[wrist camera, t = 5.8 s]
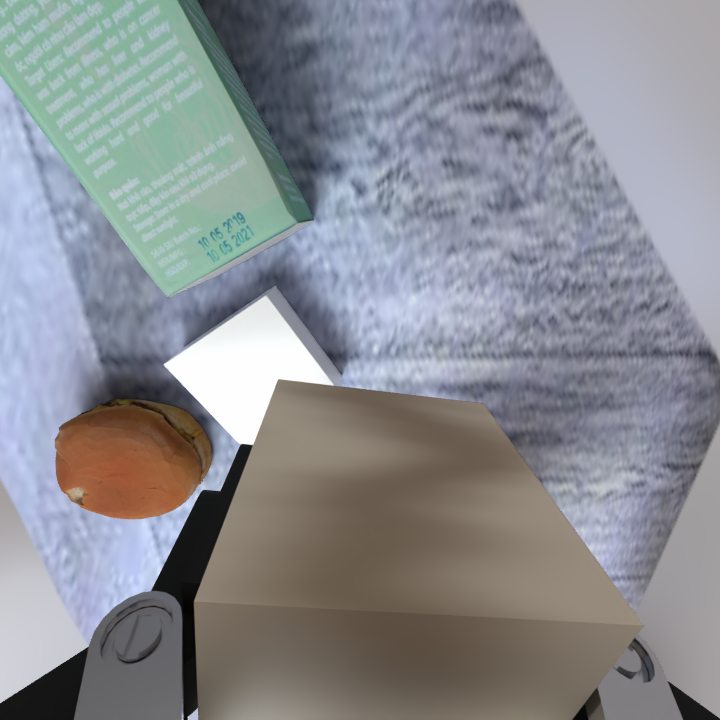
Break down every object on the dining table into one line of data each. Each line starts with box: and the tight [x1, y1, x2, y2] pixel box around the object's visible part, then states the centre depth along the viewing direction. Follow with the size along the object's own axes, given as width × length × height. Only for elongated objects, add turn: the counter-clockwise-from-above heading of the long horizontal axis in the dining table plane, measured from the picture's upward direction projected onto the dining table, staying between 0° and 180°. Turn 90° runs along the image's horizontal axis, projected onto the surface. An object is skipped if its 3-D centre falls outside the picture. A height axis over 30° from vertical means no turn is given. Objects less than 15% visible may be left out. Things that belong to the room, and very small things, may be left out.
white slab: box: [164, 286, 342, 445], centre depth 24 cm, size 8×8×3 cm
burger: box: [55, 399, 212, 519], centre depth 26 cm, size 10×9×5 cm
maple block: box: [194, 379, 644, 720], centre depth 8 cm, size 6×6×6 cm
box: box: [0, 0, 314, 297], centre depth 16 cm, size 7×14×8 cm, turn 28°
